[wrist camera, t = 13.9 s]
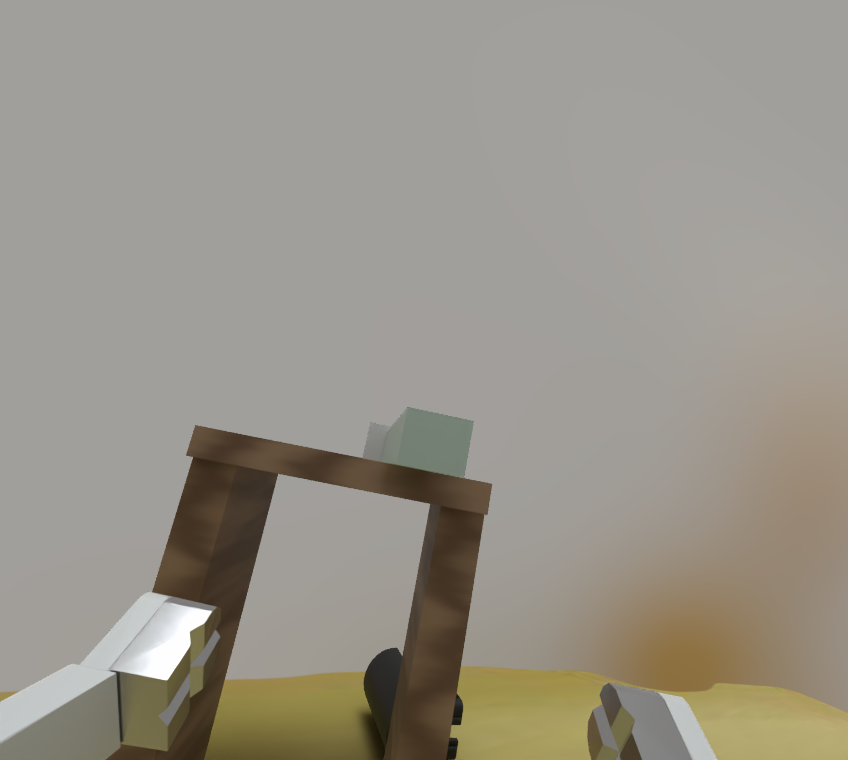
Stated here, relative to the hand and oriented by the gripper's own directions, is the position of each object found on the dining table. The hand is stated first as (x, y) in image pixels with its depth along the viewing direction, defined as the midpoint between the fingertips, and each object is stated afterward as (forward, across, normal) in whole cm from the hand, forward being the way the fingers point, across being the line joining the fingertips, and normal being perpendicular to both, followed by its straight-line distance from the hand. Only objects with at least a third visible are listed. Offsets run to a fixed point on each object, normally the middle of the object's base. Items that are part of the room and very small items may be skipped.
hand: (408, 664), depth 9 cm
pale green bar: (+20, -1, -7) cm, 21 cm away
